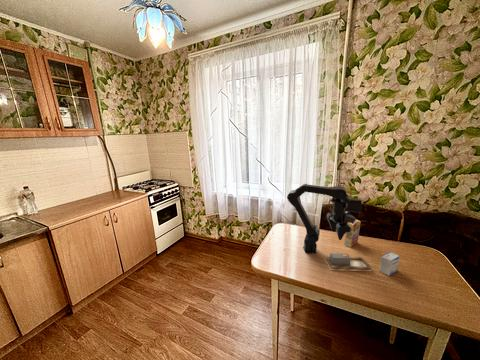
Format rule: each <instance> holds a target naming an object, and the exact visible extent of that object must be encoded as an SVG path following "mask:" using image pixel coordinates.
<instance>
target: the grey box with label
mask: <svg viewBox="0 0 480 360" xmlns="http://www.w3.org/2000/svg"><path fill="white" fill-rule="evenodd" d="M329 257H330V262H331V264H332V265H350V261H351V258H350V257H351V256H350V255H349V253H340V252H339V253H332V252H331V253H330V252H329Z"/></svg>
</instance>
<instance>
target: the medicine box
mask: <svg viewBox="0 0 480 360" xmlns="http://www.w3.org/2000/svg"><path fill="white" fill-rule="evenodd" d="M400 257H401V256H400V255H398V254H396V253H393V252H388V253H386V254H384V255H381V258H380V259H381V260H380V266H379V272H381V273H383V274H385V275H387V276H388V277H390V276H392V274H395V273H396V272H398V268H399V263H400V262H399V261H400Z"/></svg>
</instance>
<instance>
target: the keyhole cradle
mask: <svg viewBox="0 0 480 360" xmlns="http://www.w3.org/2000/svg"><path fill="white" fill-rule="evenodd" d="M350 258H351V261H350V265H332V264H331V262H330V256H325V259H324V260H325V261H326V264H327V265H328V267H329V269H330V271H348V272H350V271H351V272H352V271H354V272H355V271H356V272H358V271H359V272H372V270H373V267H372V266H371V265H370V264H369V263H368V262H367V260H366V259H365V258H364V257H362V256H350Z"/></svg>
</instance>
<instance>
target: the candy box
mask: <svg viewBox="0 0 480 360" xmlns="http://www.w3.org/2000/svg"><path fill="white" fill-rule="evenodd" d="M346 224H348V225H349V226H350V227H351V232H346V233H345V234H344V235H345V237H344V243H343V244H344V245H345V246H347V247H349V248H352V247H353V246H354V245H356V244H357V243H358V241H359V235H360V228H361V221H360V220H358V219H356V220H355V221H354V223H353V224H352V223H350V222H346Z"/></svg>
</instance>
